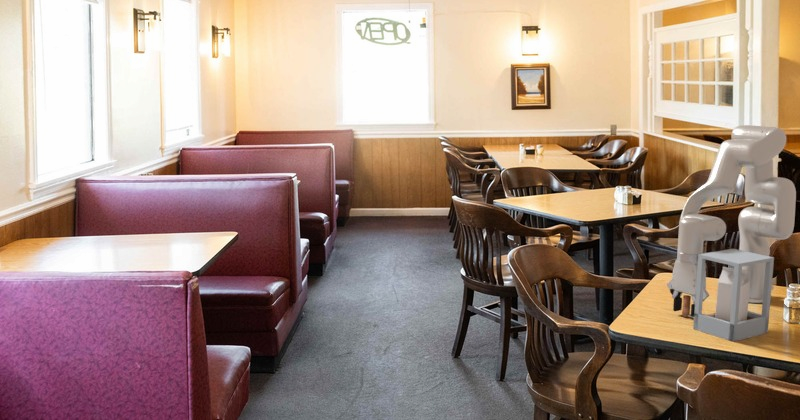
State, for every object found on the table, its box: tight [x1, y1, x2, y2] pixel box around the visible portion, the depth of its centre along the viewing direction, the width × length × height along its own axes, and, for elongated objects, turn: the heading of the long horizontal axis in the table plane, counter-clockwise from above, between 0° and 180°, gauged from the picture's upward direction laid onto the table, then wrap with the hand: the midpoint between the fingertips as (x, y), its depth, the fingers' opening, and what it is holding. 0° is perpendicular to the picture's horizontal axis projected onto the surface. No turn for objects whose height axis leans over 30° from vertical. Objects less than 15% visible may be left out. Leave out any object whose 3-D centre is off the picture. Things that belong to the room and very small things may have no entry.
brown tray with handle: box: [681, 294, 755, 320], centre depth 258 cm, size 12×23×6 cm, turn 32°
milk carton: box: [715, 266, 750, 322], centre depth 252 cm, size 7×7×19 cm
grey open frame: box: [692, 248, 775, 342], centre depth 252 cm, size 16×14×23 cm
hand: (686, 312), depth 267 cm, fingers open, 6 cm apart
